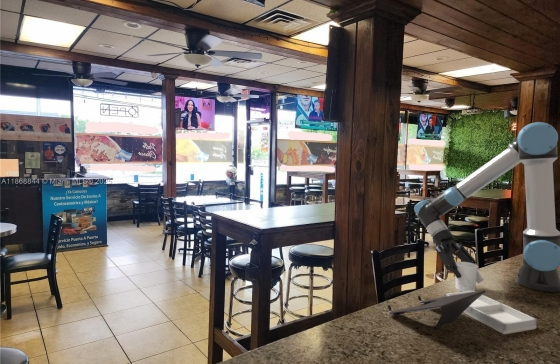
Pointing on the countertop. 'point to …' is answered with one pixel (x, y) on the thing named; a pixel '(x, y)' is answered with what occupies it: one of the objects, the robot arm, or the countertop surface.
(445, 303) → the portable electronic device stand
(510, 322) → the white divided tray
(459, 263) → the white cup
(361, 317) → the countertop surface
